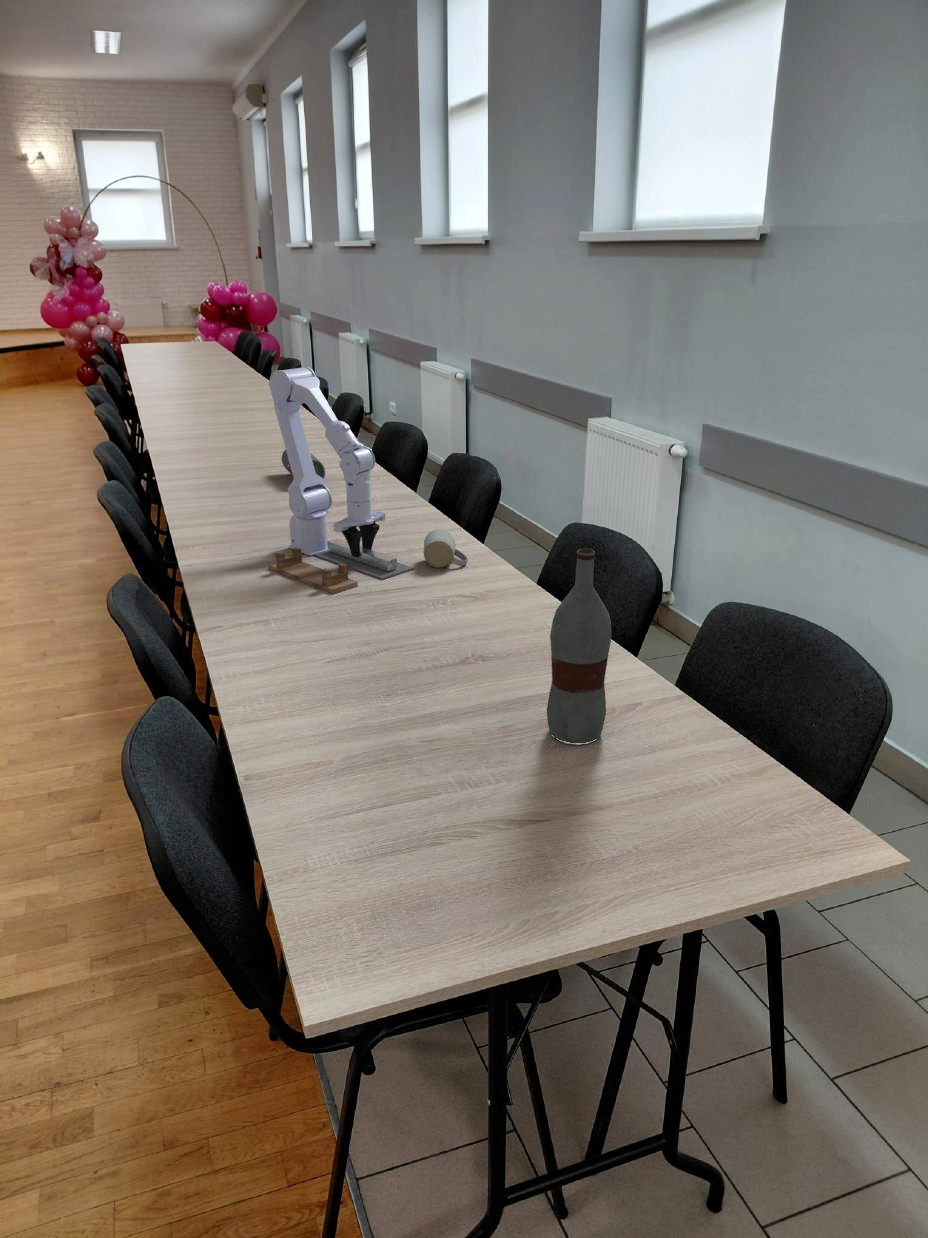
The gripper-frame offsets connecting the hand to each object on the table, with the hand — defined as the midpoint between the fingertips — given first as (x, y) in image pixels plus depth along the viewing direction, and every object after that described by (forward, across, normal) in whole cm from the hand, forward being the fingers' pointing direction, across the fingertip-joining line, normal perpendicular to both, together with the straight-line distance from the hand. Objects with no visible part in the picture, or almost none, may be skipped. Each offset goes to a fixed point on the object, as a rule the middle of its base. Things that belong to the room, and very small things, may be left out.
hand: (361, 554), depth 216 cm
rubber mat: (+2, 0, +1) cm, 2 cm away
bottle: (+2, -31, -87) cm, 92 cm away
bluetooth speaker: (+2, +40, +75) cm, 85 cm away
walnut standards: (+2, -15, 0) cm, 15 cm away
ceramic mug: (+2, +13, -15) cm, 20 cm away
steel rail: (+1, 0, 0) cm, 1 cm away
